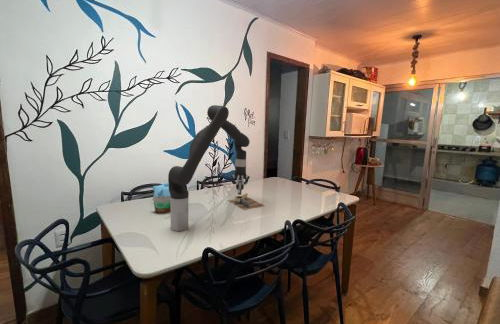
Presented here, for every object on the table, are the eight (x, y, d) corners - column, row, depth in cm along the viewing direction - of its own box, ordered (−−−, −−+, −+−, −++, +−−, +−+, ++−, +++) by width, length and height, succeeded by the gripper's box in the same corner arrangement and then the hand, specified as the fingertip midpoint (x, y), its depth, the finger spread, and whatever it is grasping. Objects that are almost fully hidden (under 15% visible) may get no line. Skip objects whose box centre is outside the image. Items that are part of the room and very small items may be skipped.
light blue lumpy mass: (180, 204, 167) (180, 185, 165) (155, 207, 160) (155, 187, 158) (175, 196, 183) (175, 179, 181) (152, 199, 176) (151, 180, 174)
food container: (151, 214, 147) (151, 198, 146) (152, 211, 153) (152, 195, 151) (172, 213, 150) (172, 198, 149) (173, 210, 156) (173, 195, 155)
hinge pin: (243, 194, 172) (244, 179, 171) (238, 195, 170) (239, 180, 168) (240, 193, 175) (240, 178, 173) (235, 194, 173) (236, 179, 171)
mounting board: (227, 202, 177) (227, 200, 177) (247, 198, 188) (247, 197, 187) (243, 211, 160) (244, 210, 159) (265, 207, 170) (265, 205, 170)
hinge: (230, 200, 177) (230, 195, 176) (246, 198, 185) (246, 193, 184) (244, 208, 162) (245, 202, 161) (261, 205, 170) (261, 200, 169)
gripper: (250, 164, 173) (249, 188, 176) (230, 164, 172) (229, 187, 175) (251, 166, 166) (249, 191, 169) (230, 165, 165) (229, 190, 168)
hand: (239, 189), depth 172 cm, fingers closed on hinge pin, 2 cm apart
